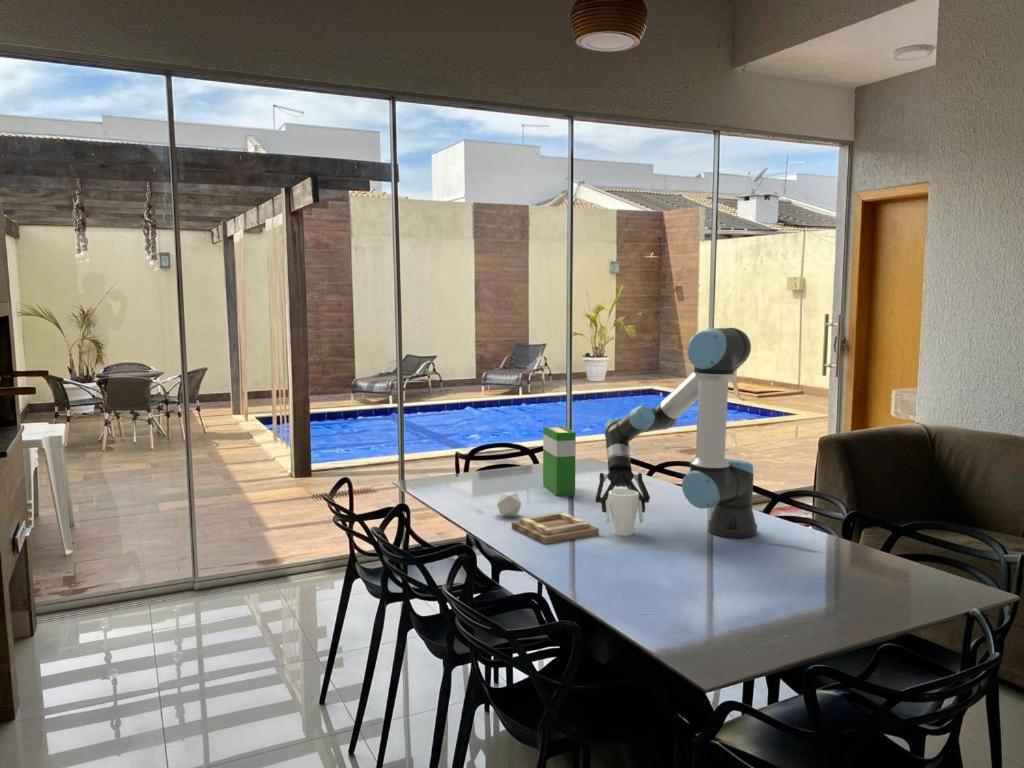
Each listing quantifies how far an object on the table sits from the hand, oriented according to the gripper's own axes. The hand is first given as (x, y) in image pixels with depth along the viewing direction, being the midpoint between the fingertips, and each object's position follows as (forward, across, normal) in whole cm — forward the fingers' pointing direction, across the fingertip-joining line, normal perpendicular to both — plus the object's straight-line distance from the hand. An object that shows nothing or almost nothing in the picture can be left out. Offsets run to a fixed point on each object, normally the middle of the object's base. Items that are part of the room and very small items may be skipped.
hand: (624, 520), depth 250 cm
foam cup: (+1, 0, -6) cm, 6 cm away
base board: (0, +22, -6) cm, 23 cm away
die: (-13, +36, -20) cm, 44 cm away
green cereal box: (-40, +17, -47) cm, 64 cm away
